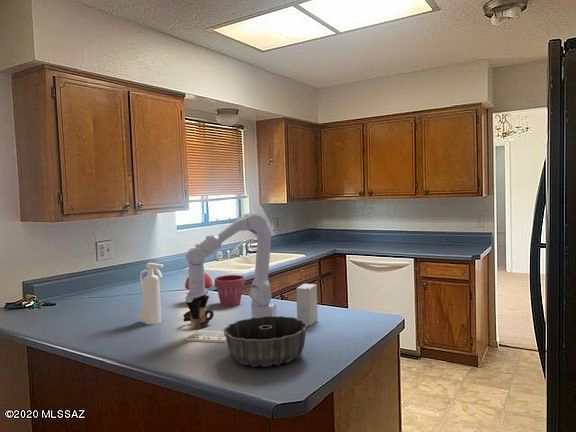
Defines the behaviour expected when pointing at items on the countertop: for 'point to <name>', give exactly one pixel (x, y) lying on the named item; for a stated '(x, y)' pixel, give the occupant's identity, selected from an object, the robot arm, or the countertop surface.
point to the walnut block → (201, 316)
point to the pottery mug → (204, 323)
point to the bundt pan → (266, 340)
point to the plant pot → (229, 289)
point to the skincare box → (307, 303)
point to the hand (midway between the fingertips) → (198, 317)
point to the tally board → (207, 336)
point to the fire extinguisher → (151, 294)
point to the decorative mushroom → (207, 282)
